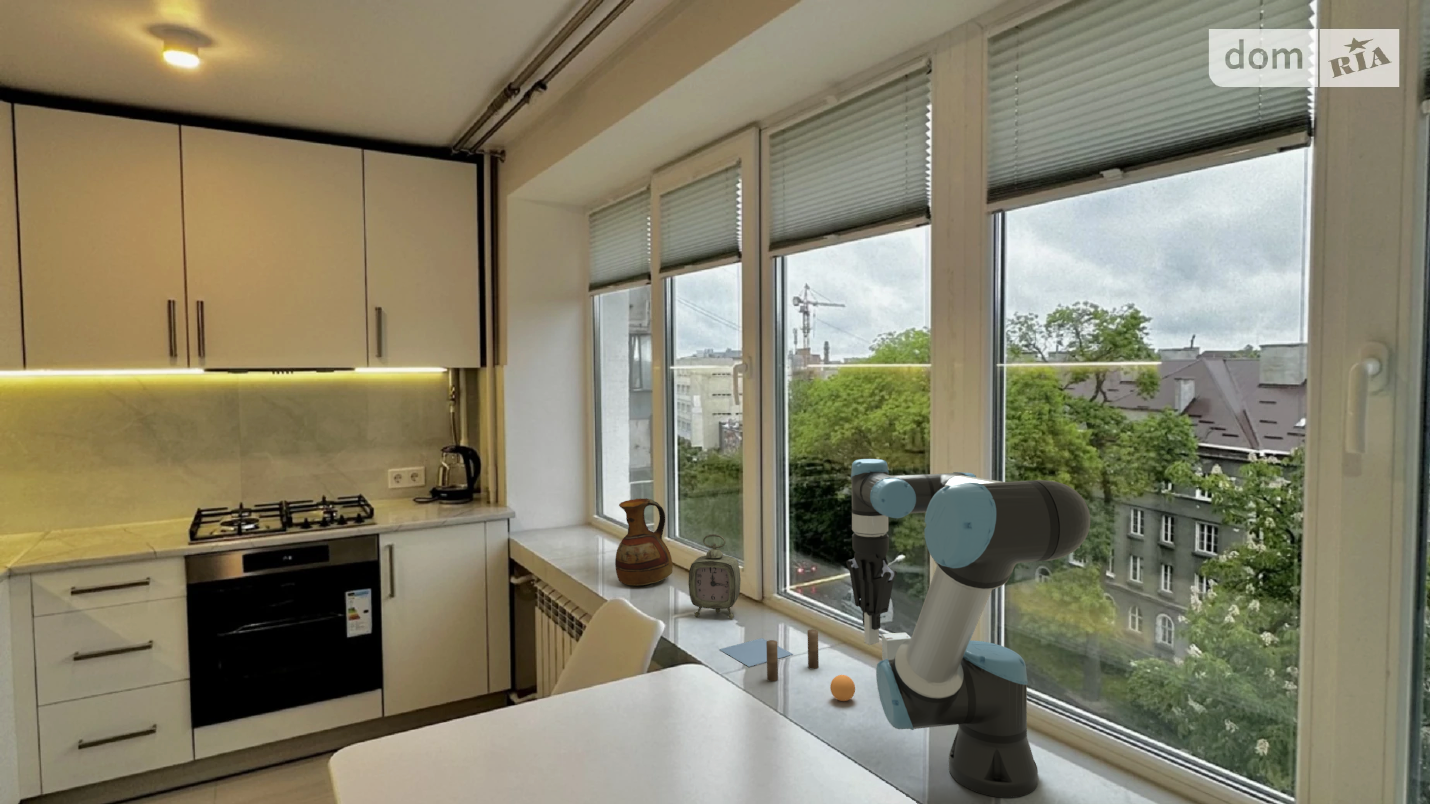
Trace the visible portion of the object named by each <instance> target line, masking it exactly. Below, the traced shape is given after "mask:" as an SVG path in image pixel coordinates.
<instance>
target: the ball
mask: <svg viewBox="0 0 1430 804" xmlns="http://www.w3.org/2000/svg"><path fill="white" fill-rule="evenodd" d="M829 689H830V692H831V695H832V697H834V698H835V699H836V700H838V701H839V702H847V701H849V700H851V699H852V698H853V697H854V695H855V694H856V693H855V692H856V685H855V682H854V680H853V679H852V678H851V677H850V676H848V675H845V674H839V675H836V676H835V677H833V679H832V680H831V682H830V687H829Z"/></svg>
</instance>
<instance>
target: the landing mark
mask: <svg viewBox="0 0 1430 804" xmlns="http://www.w3.org/2000/svg"><path fill="white" fill-rule="evenodd" d="M767 641H768V639H765V638H762V637H761V638H757V639H753V640H749V641H746V642H742V643H738V644H735V645H730V646H726V647H722V648H718V650H719V651H720V652H722V651H723V652H722V653H724V654H725V655H727V654H728V655H727V656H729V655H730V656H729V657H731V658H732V659H734V658H735V659H734V660H736V661H737V660H738V661H737V662H739V661H740V662H739V663H741V662H742V663H741V664H742V665H744V664H745V665H744V666H746V665H747V666H746V667H748V668H751V666H752V667H755V666H758V665H757V664H759V665H762V664H767V645H766V642H767ZM777 653H778V660H780V659H783V658H787V657H791V656H793V655H794V653H792V652H790V651H788V650H786V649H784V648H782V647H781V646H778V645H777ZM790 655H791V656H790ZM754 665H755V666H754Z"/></svg>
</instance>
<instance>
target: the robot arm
mask: <svg viewBox="0 0 1430 804" xmlns="http://www.w3.org/2000/svg"><path fill="white" fill-rule="evenodd" d="M850 473H851V474H850V480H851V530H852V532H853V534H852V535H851V537H852V550H853V551H854V552H855V553H854V555H853V556H854V557H853V558H852V559H848V560H846V563H845V564H846V567H847V568H848V572H849V575H850V576H849V577H850V581H851V587H852V594H853V598H854V599H853V600H854V605H855V607H859V608H860V611H861V612H862V626H863V627H864V632H863V633H864V644H867V645H869V646H872V645H874V644H878V643H880V629H881V614H885V613H888V612H889V607H890V603H891V598H892V597H891V596H892V590H893V585H894V581H895V579H896V577H897V575H898V573H897V571H896V570H895V569H893V570H892V569H891V568H890V567H889V566H888V565H889V564H888V563H889V562H888V559H887V553H888V552H889V550H890V549H889V547H890V540H889V538H890V537H889V534H888V532H889V518H892V519H901V518H904V517H906V516H908V515H909V514H921V513H925V517H924V523H925V528H924V530H923V531H924V539H925V540H924V541H925V543H926V547H927V548H926V549H927V550H928V552H929V554H930V555H929V556H931V558H932V559H933V561H934V563H935V565H936V567H935V570H934V572H933V576H932V578H931V581H930V584H929V587H928V590H927V592H926V595H925V598H924V601H923V603H922V604H923V605H922V607H921V610H920V612H919V615H918V618H917V621H916V624H915V626H914V628H913V629H914V630H913V632H912V635H911V640H908V641H906V642H904V643H903V644H902V645H901V646H900V647H899V648H898V650H897V653H896V655H895V658H894V659H892V660H888V659H885V660H879V661H878V663H877V664H876V669H875V672H876V673H875V674H876V685H877V692H878V696H879V697H878V698H879V701H880V704H881V707H882V710H883V713H884V715H885V717H886V720H887V722H888V723H889V724H890V726H892V727H893V728H894V729H896V730H910V731H911V730H912V731H914V730H916V729H918V730H919V729H927V728H937V727H938V728H939V727H945V726H955V725H957V726H958V727H957V730H956V733H955V737H954V739H953V742H952V746H951V749H950V751H949V753H948V770H949V774H950V775H951V777H952V778H953V779H954V780H955V781H956V782H957V783H959V785H961V786H963V787H964V788H967V789H969V790H971V791H972V792H973V791H974V792H976V793H978V794H982V795H986V796H989V797H995V798H1018V797H1023V796H1026V795H1029V794H1031V793H1032V792H1033V791H1035V790H1036V788H1037V787H1038V784H1039V783H1038V782H1039V774H1038V773H1039V771H1038V765H1037V763H1036V761H1035V760H1034V755H1033V752H1032V749H1031V746H1030V743H1029V739H1028V728H1027V727H1028V711H1027V709H1028V706H1027V705H1028V693H1027V692H1028V689H1027V688H1028V684H1029V680H1028V675H1027V674H1028V673H1027V667H1026V665H1027V664H1026V662H1025V660H1024V658H1023V657H1022V656H1021V655H1020V654H1019V653H1018V652H1016V651H1014V650H1012V649H1011V648H1008V647H1006V646H1004V645H1000V644H997V643H993V642H988V641H982V640H971V639H972V638H973V637H972V636H973V635H974V632H975V631H976V629H977V626H978V622H980V619H981V616H982V614H983V611H984V609H985V607H986V604H987V603H988V600H989V597H990V595H991V593H992V591H993V590H994V589H999V588H1000V587H1002V586H1004V585H1006V583H1007V582H1008V581H1009V579H1010V577H1011V575H1012V573H1013V572H1014V568H1015V567H1016V565H1018V564H1020V563H1034V562H1035V563H1037V562H1046V561H1047V562H1049V561H1054V560H1059V559H1062V558H1064V557H1066V556H1068V555H1070V554H1072V553H1074V552H1075V551H1077V549H1078V548H1080V547H1081V545H1082V544H1083V543H1084V542H1085V540H1086V539H1087V536H1088V534H1089V532H1090V529H1091V528H1090V527H1091V515H1090V509H1089V508H1088V505H1087V502H1086V500H1085V499H1084V498H1083V496H1082V495H1081V494H1080V493H1079V492H1078V491H1076V490H1075V489H1074V488H1072V487H1071V486H1069V485H1067V484H1065V483H1061V482H1058V481H1053V480H1045V479H1035V480H1033V479H1032V480H1019V481H1018V480H1016V481H1002V480H996V479H995V480H993V479H987V478H982V477H977V475H975V474H974V473H972V472H962V471H961V472H958V471H957V472H956V471H955V472H954V471H953V472H950V473H949V472H948V473H947V472H946V473H932V474H931V473H930V474H929V473H928V474H925V473H924V474H899V475H890V472H889V465H888V463H887V461H886V460H885V459H884V460H883V459H877V458H861V459H856V460H854V461H853V462H852V464H851V472H850Z"/></svg>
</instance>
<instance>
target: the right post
mask: <svg viewBox="0 0 1430 804" xmlns="http://www.w3.org/2000/svg"><path fill="white" fill-rule="evenodd" d="M819 659H820V658H819V630H817V629H814V628H813V629H808V630H807V668H808V669H810V668H811V669H810V670H817V669H819V667H820V666H819V661H820V660H819Z"/></svg>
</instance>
